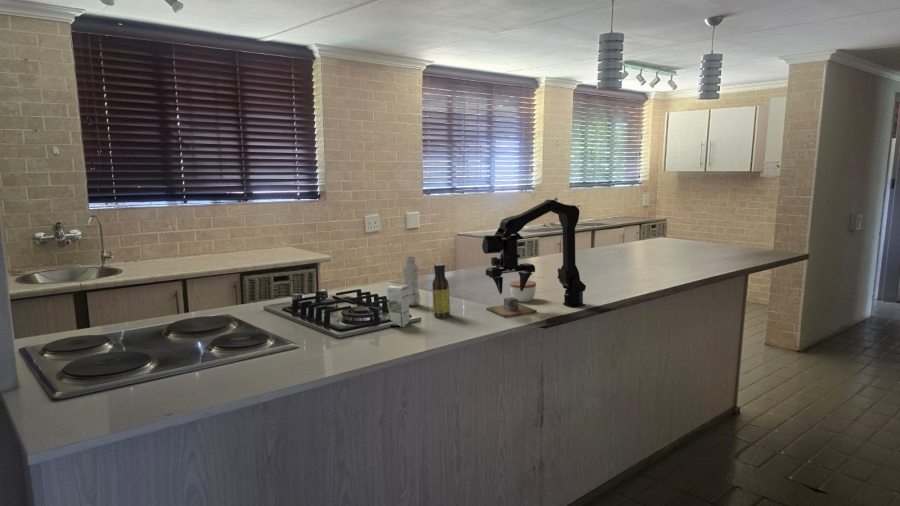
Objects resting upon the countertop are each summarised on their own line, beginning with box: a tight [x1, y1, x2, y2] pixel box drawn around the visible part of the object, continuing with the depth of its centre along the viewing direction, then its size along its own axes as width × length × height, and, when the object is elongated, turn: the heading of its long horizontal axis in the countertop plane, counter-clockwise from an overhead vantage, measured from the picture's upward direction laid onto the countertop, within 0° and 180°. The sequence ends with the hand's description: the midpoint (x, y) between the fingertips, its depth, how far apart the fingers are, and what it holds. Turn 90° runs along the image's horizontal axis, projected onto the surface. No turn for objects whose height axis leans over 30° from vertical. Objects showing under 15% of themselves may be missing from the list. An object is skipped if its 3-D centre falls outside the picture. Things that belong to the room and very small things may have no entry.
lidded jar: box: [509, 280, 537, 303], centre depth 238 cm, size 11×11×9 cm
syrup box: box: [386, 284, 411, 328], centre depth 207 cm, size 6×6×14 cm
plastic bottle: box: [402, 256, 421, 307], centre depth 236 cm, size 6×7×20 cm
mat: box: [483, 309, 540, 320], centre depth 220 cm, size 16×16×1 cm
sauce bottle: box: [431, 263, 451, 319], centre depth 217 cm, size 6×6×20 cm
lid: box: [485, 296, 538, 319], centre depth 220 cm, size 14×14×5 cm
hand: (511, 292), depth 219 cm, fingers open, 9 cm apart
